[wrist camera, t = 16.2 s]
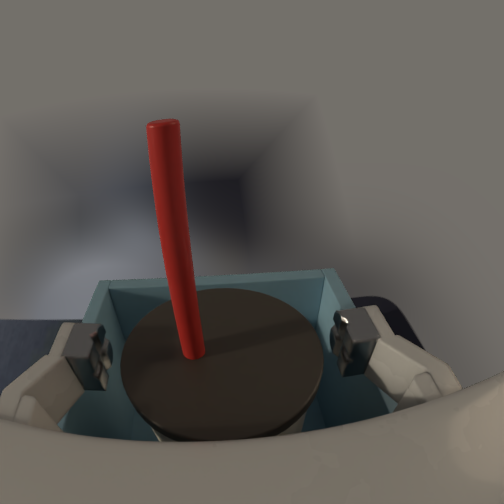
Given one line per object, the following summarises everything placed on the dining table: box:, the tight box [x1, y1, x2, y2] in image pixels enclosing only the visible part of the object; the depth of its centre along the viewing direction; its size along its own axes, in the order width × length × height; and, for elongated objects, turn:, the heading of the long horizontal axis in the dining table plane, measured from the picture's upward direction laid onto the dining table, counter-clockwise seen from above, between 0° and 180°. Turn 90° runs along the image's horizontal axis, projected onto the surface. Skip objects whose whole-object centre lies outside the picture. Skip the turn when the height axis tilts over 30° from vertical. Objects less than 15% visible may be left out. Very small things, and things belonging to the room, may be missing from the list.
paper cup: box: [120, 119, 324, 442], centre depth 11 cm, size 6×6×17 cm
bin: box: [57, 268, 398, 441], centre depth 13 cm, size 14×16×9 cm
